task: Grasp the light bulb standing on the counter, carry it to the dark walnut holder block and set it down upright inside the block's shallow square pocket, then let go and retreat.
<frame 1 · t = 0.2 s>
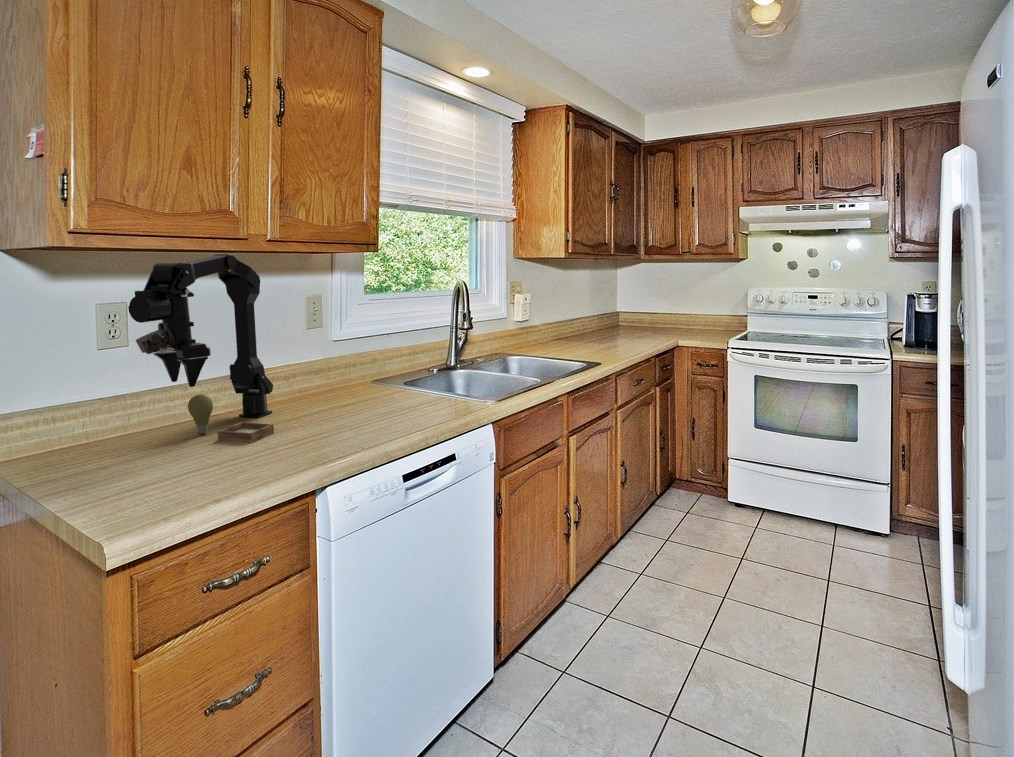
hand: (183, 384, 150), 14 cm above the counter, fingers open, 9 cm apart
light bulb: (203, 435, 157), on the counter
holder: (246, 436, 154), on the counter
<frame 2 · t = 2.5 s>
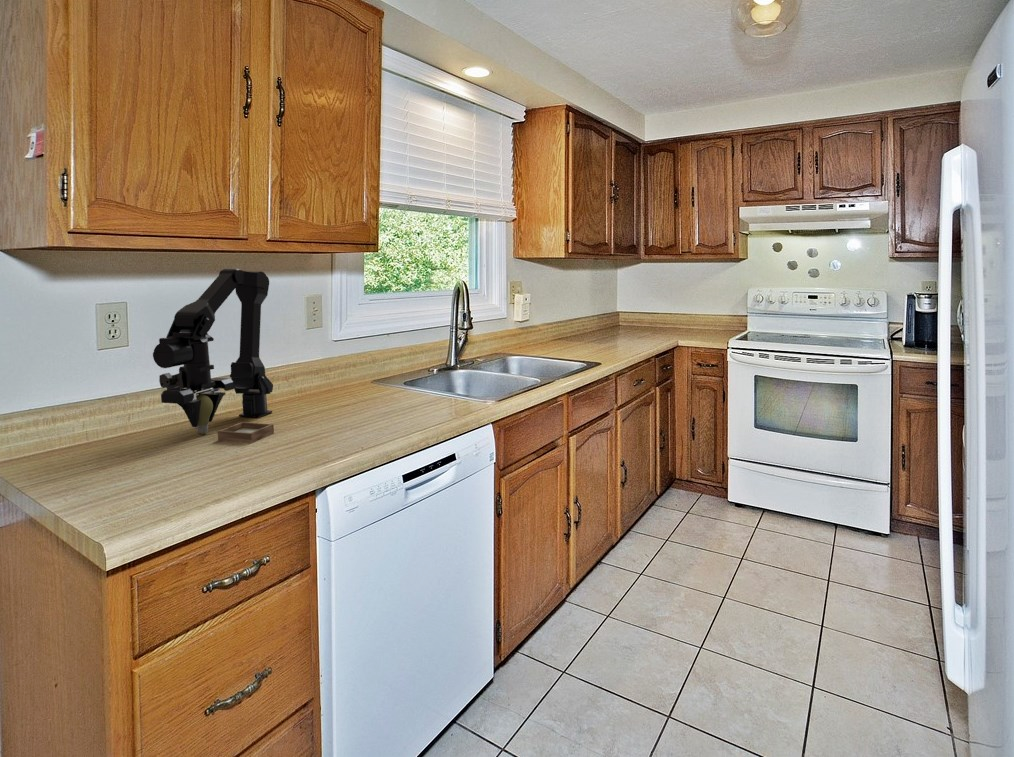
hand: (202, 424, 156), 3 cm above the counter, fingers closed on light bulb, 5 cm apart
light bulb: (203, 435, 157), on the counter, touching gripper
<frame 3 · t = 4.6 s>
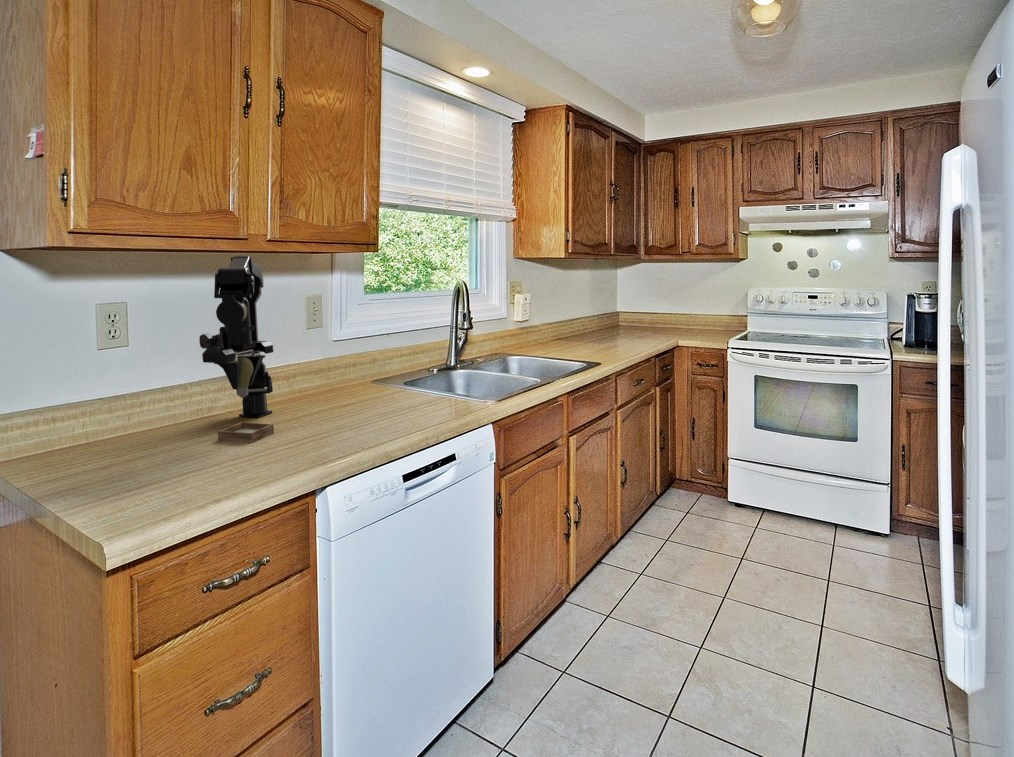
hand: (242, 387, 152), 12 cm above the counter, fingers closed on light bulb, 5 cm apart
light bulb: (243, 398, 153), point 10 cm above the counter, touching gripper
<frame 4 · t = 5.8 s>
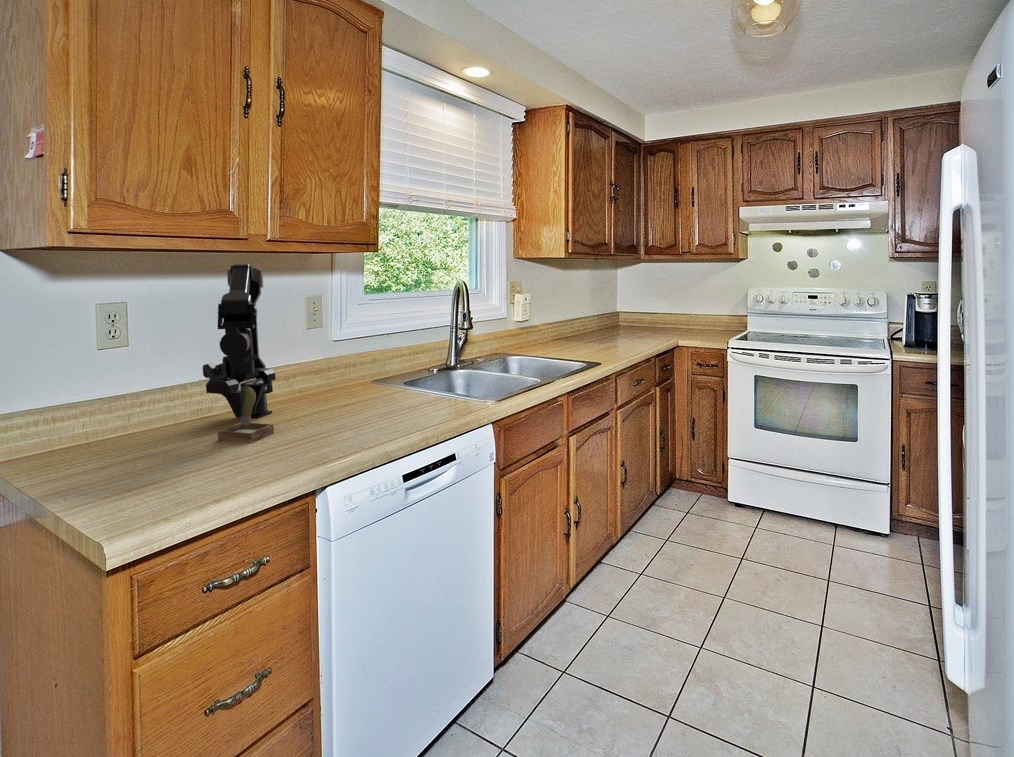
hand: (245, 415, 154), 5 cm above the counter, fingers closed on light bulb, 5 cm apart
light bulb: (245, 426, 154), point 3 cm above the counter, touching gripper
when the fingers open (5 cm above the counter, at t = 6.7 s): light bulb drops 1 cm, resting on holder.
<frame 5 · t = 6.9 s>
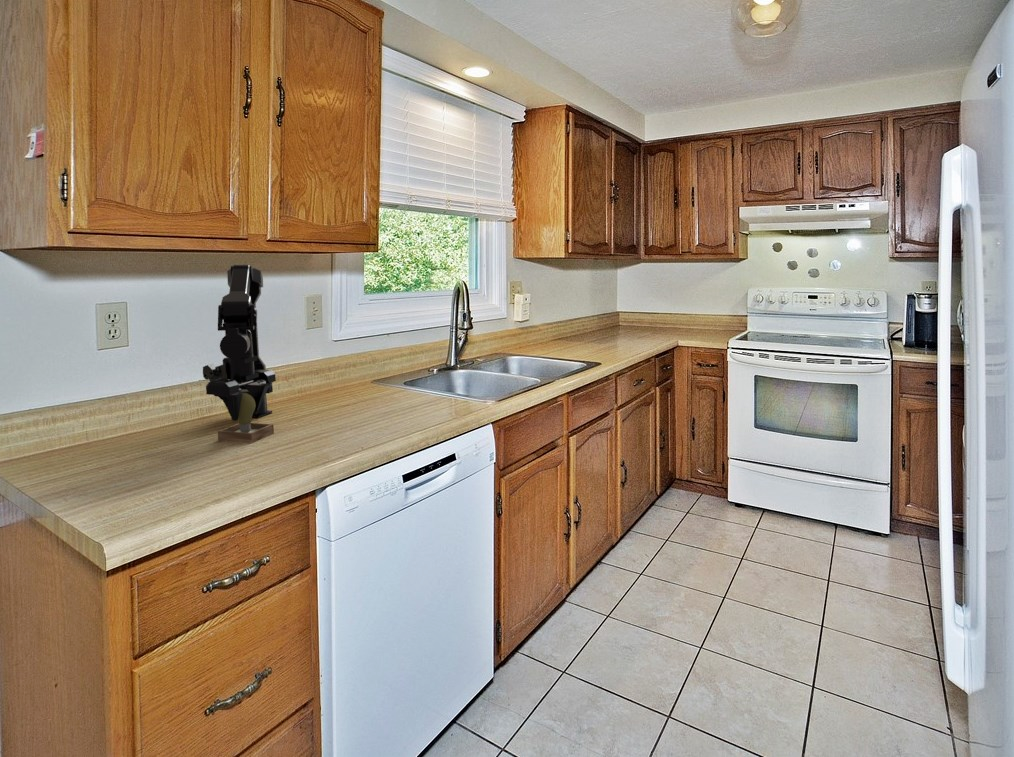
hand: (245, 416, 154), 5 cm above the counter, fingers open, 7 cm apart
light bulb: (245, 434, 154), point 1 cm above the counter, touching holder
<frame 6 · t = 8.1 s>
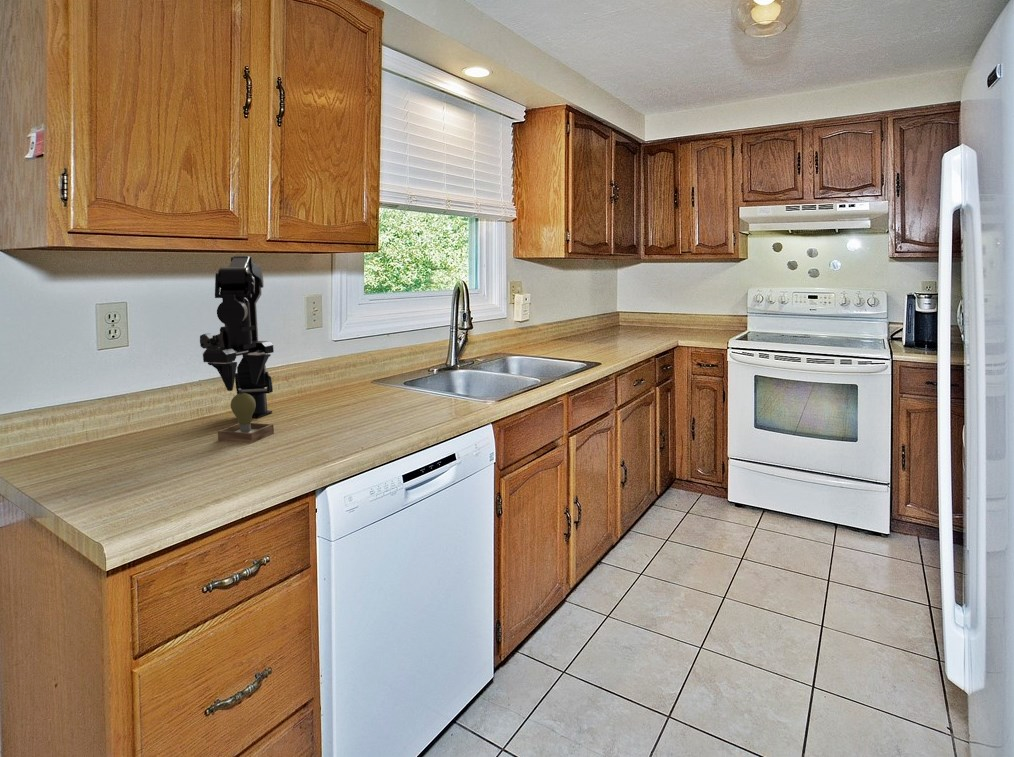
hand: (242, 387, 152), 12 cm above the counter, fingers open, 9 cm apart
nothing on the counter moved.
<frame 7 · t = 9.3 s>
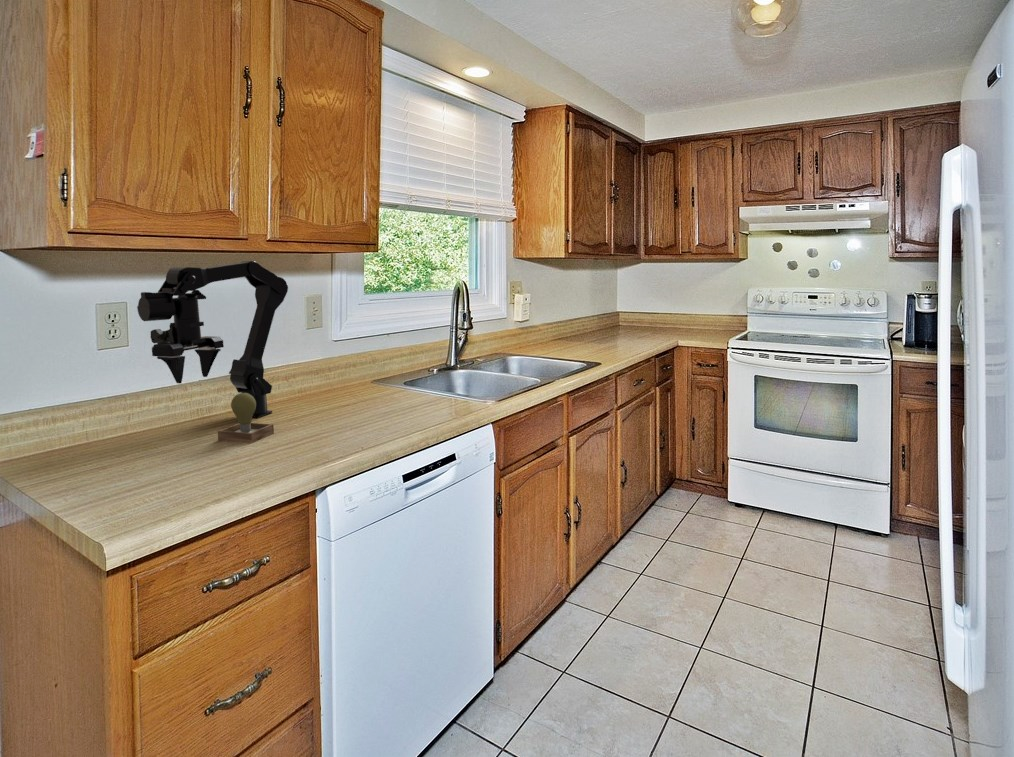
hand: (192, 379, 161), 12 cm above the counter, fingers open, 9 cm apart
nothing on the counter moved.
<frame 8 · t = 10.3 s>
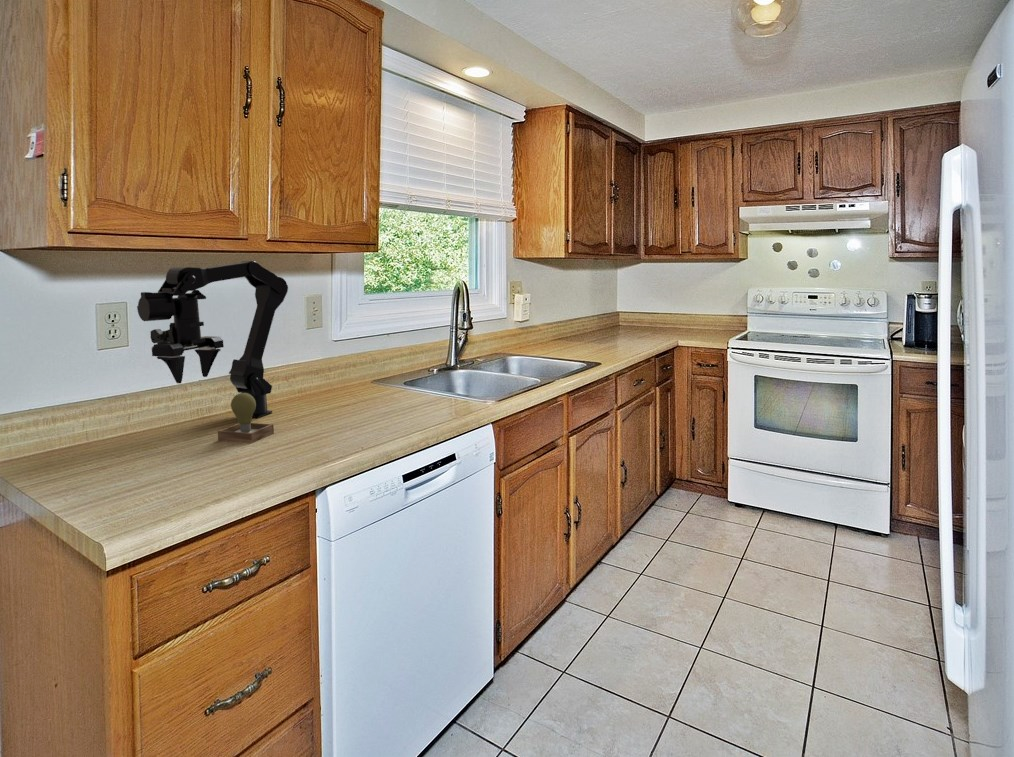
hand: (192, 379, 161), 12 cm above the counter, fingers open, 9 cm apart
nothing on the counter moved.
at the end: light bulb 0.2 cm off-centre on the holder, point 0.7 cm above the holder's base; light bulb tilted 1°; the gripper is holding nothing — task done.
